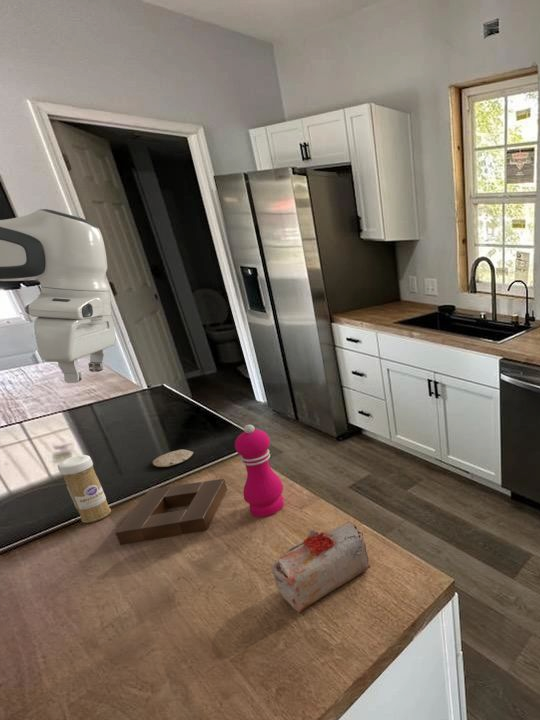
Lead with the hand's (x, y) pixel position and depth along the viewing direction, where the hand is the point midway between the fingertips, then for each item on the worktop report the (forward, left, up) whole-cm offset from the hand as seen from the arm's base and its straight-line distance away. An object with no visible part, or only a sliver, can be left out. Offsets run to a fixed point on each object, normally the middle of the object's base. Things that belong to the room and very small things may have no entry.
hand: (85, 376), depth 80 cm
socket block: (+15, +2, -29) cm, 32 cm away
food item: (+56, +4, -29) cm, 63 cm away
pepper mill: (+29, +12, -29) cm, 42 cm away
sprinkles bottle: (+1, -6, -29) cm, 30 cm away
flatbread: (-9, +13, -29) cm, 33 cm away
